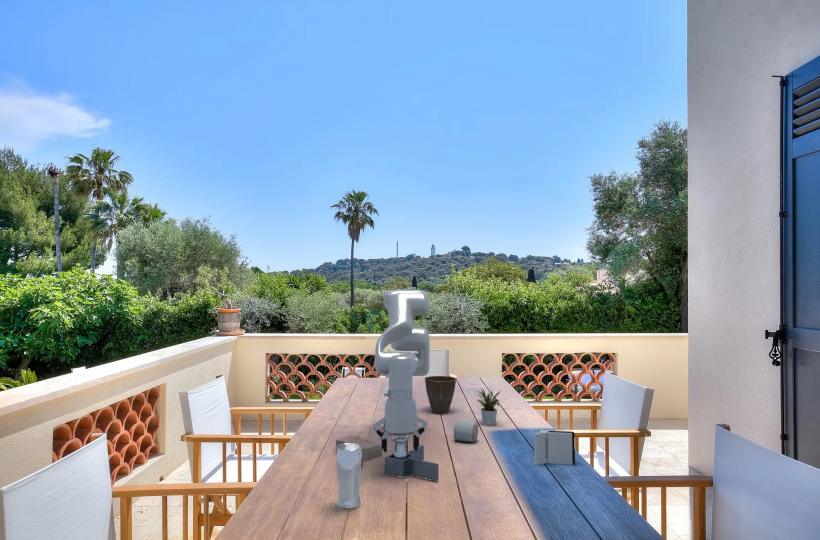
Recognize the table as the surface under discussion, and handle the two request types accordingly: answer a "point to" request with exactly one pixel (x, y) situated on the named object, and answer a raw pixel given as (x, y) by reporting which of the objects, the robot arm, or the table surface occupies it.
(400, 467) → the grey cross-shaped holder
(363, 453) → the brick
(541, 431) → the hinge
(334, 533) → the table surface
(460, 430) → the ceramic mug
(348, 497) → the beer glass
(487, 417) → the house plant
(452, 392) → the plant pot
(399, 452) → the hinge pin
